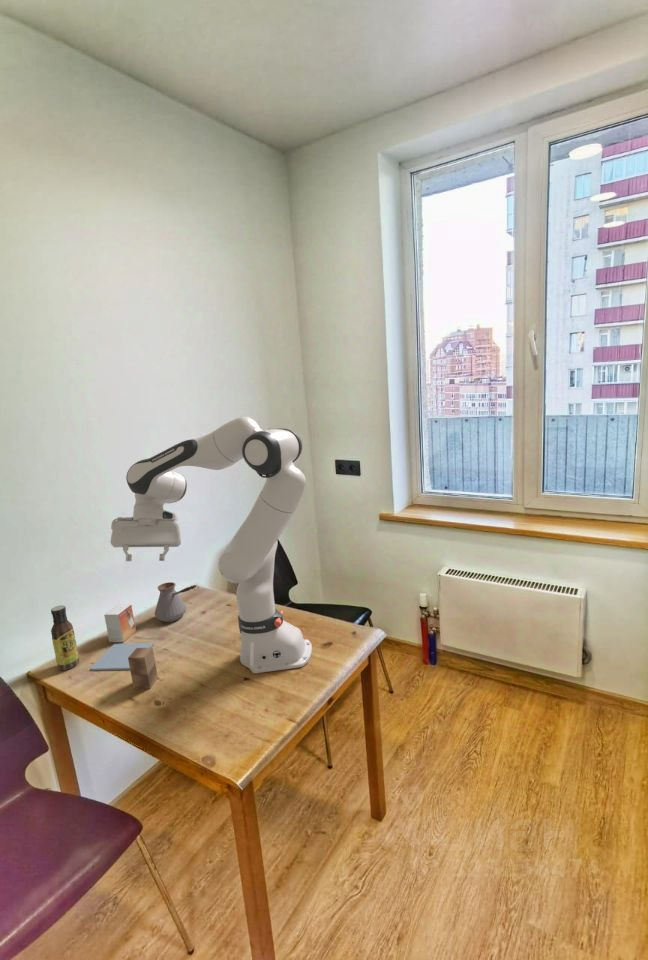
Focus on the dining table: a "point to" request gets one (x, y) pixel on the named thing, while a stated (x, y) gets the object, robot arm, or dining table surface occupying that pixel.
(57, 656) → the sauce bottle
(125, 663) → the slate board
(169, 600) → the coffee pot
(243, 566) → the robot arm
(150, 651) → the walnut block
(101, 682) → the dining table surface
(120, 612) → the small box
